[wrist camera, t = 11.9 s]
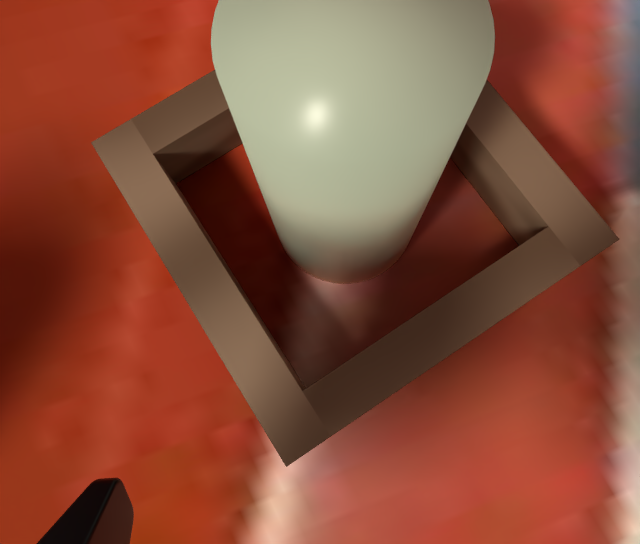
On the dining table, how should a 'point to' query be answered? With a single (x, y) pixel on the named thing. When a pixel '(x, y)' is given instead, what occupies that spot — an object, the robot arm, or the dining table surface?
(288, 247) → the pale green cylinder
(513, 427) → the dining table surface
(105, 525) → the robot arm
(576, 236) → the collar
